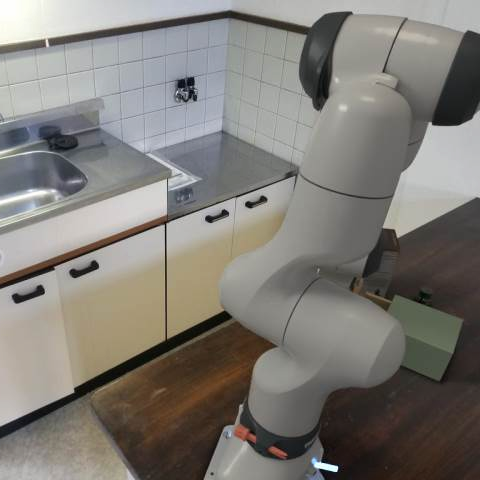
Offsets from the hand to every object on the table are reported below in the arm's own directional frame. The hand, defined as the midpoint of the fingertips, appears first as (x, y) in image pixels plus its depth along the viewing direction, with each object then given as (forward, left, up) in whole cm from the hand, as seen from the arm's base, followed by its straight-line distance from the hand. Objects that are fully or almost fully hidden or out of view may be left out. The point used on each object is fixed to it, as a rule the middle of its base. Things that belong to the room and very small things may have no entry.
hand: (333, 309), depth 112 cm
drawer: (+4, -8, -4) cm, 9 cm away
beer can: (+21, -15, -5) cm, 26 cm away
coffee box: (+18, -3, -5) cm, 19 cm away
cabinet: (+4, -17, -5) cm, 18 cm away
